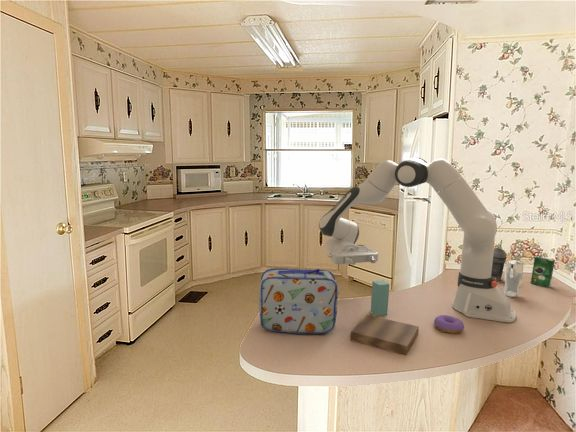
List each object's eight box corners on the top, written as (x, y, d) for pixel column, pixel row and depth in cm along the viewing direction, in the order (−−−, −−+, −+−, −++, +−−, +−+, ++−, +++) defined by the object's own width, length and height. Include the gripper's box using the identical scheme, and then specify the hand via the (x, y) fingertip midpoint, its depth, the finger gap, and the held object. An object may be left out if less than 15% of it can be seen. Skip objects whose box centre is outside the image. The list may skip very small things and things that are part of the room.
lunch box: (336, 323, 143) (339, 263, 140) (340, 336, 133) (344, 272, 130) (259, 322, 143) (260, 262, 139) (257, 335, 133) (258, 271, 129)
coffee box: (551, 286, 189) (555, 259, 187) (549, 287, 187) (553, 260, 185) (532, 282, 195) (535, 255, 193) (530, 283, 193) (533, 256, 191)
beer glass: (522, 298, 172) (526, 264, 170) (504, 297, 173) (508, 263, 171) (516, 293, 179) (520, 260, 177) (499, 291, 180) (503, 259, 178)
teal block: (380, 309, 156) (382, 280, 154) (387, 314, 152) (389, 283, 150) (370, 311, 155) (372, 281, 153) (377, 315, 151) (379, 285, 149)
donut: (428, 327, 141) (431, 314, 141) (438, 325, 148) (440, 312, 148) (458, 337, 134) (460, 323, 134) (466, 334, 141) (469, 320, 141)
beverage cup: (498, 277, 201) (503, 237, 198) (507, 281, 194) (512, 241, 191) (484, 276, 201) (488, 237, 198) (492, 281, 194) (497, 241, 190)
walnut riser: (418, 334, 136) (418, 326, 135) (406, 355, 122) (407, 346, 122) (366, 322, 145) (367, 314, 144) (350, 340, 131) (350, 331, 130)
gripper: (326, 247, 171) (341, 256, 158) (368, 245, 178) (386, 253, 165) (325, 261, 172) (340, 271, 159) (367, 258, 179) (384, 268, 166)
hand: (364, 262), depth 162 cm, fingers open, 8 cm apart
